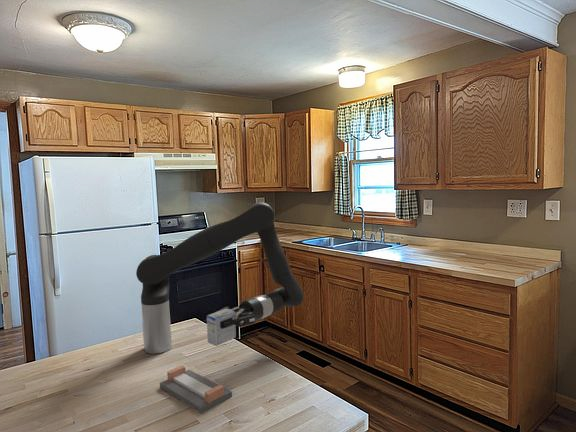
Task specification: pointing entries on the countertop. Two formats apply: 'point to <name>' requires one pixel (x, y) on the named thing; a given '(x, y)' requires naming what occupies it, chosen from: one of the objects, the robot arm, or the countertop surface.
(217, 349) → the countertop surface
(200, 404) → the rail panel
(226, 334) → the medicine box
